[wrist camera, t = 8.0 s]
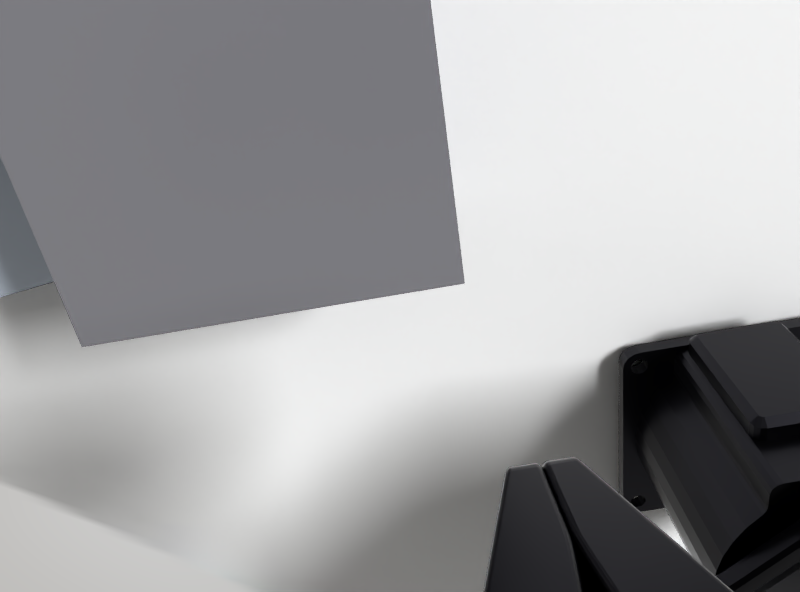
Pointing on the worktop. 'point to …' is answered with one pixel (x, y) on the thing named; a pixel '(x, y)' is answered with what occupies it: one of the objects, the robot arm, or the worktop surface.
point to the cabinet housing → (226, 156)
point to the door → (17, 244)
